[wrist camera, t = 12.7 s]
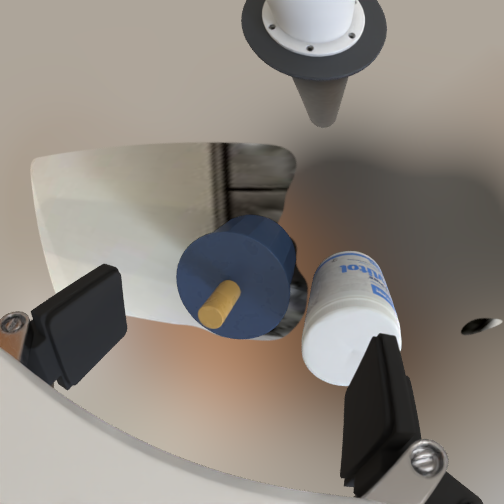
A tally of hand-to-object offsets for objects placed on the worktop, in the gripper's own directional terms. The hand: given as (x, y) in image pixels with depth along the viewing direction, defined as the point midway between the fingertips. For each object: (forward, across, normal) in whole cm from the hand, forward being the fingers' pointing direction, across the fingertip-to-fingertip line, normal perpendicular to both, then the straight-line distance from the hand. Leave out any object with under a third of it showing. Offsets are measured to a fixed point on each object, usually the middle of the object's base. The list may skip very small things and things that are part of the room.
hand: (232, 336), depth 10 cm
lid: (+18, +5, +9) cm, 21 cm away
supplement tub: (+28, -8, +10) cm, 30 cm away
